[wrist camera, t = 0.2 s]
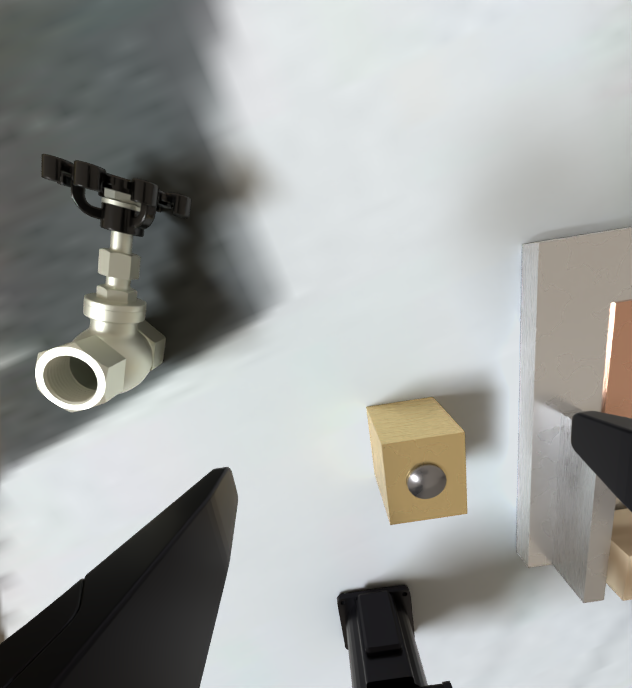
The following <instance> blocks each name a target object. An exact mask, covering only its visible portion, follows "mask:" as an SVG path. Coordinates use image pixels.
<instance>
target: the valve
mask: <svg viewBox="0 0 632 688" xmlns="http://www.w3.org/2000/svg"><path fill="white" fill-rule="evenodd" d="M41 177H42V178H44V179H48V180H51V181H54V182H57V183H58V184H60V185H64V186H67V187H71V195H72V198H73V200H74V202H75V204H76V205H77V207H78V208H79V209H80V210H81V211H83V212H84V213H85V214H87V215H89V216H91V217H94V218H97V219H101V220H100V227H101V228H104V229H108V230H111V243H110V249H109V248H102V249H99V264H98V273H100V274H102V275H105V276H106V283H105V284H101V285H98V286H97V293H90V294H86V295H85V296H84V309H83V313H84V315H85V316H87V317H89V318H90V327H89V329H87V330H85V331H84V332H82V333H81V334H79V335H78V336H77V337H76V338H75V339H74V340H73V341H72V342H71V343H67V344H64V345H61V346H58V347H55V348H52V349H49V350H46V351H43V352H40V353H38V357H37V362H36V383H37V388H38V389H39V391H40V392H41V393H42V394H43V395H44V396H46V397H47V398H48V399H49V400H51V401H52V402H53V403H55V404H56V405H58V406H60V407H61V408H63V409H65V410H67V411H69V412H76V411H80V410H84V409H87V408H91V407H94V406H97V405H100V404H103V403H106V402H107V401H109V400H110V399H112V398H113V397H114V396H116V395H117V394H120V393H123V392H126V391H128V390H131V389H132V388H134V387H135V386H137V385H138V384H140V383H141V382H142V381H143V380H144V379H145V377H146V376H147V374H148V373H149V371H151V370H153V369H155V368H156V367H158V366H159V365H160V364H162V363H163V358H164V350H165V342H166V337H165V336H164V335H163V334H161V333H160V332H159V331H158V330H157V329H155V328H154V327H153V326H152V325H150V324H149V323H148V322H147V321H145V316H146V306H147V304H146V302H145V301H143V300H141V299H138V298H137V291H136V290H135V289H133V288H131V287H130V283H131V280H135V279H139V270H140V260H141V257H140V256H139V255H137V254H134V253H132V243H133V235H134V236H139V237H143V236H144V229H146V228H148V227H149V226H150V225H151V224H152V222H153V220H154V218H155V214H156V211H157V212H161V209H162V207H163V208H168V209H172V207H173V215H174V216H178V217H182V218H186V219H187V218H189V215H190V208H191V198H189V197H187V196H184V195H181V194H178V193H174V192H169V193H166V192H163V191H160V190H159V186H158V185H156V184H154V183H151V182H149V181H145V180H142V179H138V178H132V180H128V179H125V178H121V177H118V176H115V175H112V174H109V173H106V170H105V169H103V168H101V167H98V166H96V165H93V164H90V163H87V162H83V161H79V160H75V161H74V164H73V163H72V162H69V161H67V160H64V159H61V158H58V157H55V156H52V155H48V154H42V156H41ZM85 188H86V189H90V190H94V191H98V195H99V196H101V197H102V205H101V208H97V207H94V206H92V205H90V204H89V203H88V202H87V200H86V198H85ZM103 197H105V198H103ZM107 198H108V199H107ZM111 199H112V200H111Z"/></svg>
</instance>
